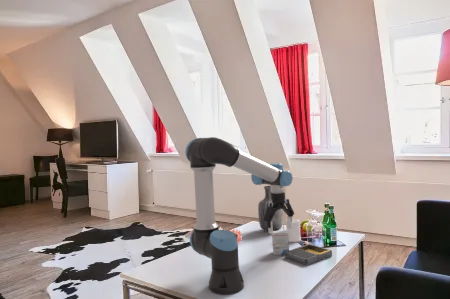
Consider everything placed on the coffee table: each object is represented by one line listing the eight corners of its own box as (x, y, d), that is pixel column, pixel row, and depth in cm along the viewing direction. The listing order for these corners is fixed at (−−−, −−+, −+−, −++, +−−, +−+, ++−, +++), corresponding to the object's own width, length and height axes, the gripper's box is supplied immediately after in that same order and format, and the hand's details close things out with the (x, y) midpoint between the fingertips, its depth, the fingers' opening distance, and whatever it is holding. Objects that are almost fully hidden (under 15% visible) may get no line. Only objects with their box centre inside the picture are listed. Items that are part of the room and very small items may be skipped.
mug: (279, 239, 211) (278, 219, 210) (289, 236, 216) (287, 217, 216) (294, 243, 201) (293, 223, 201) (304, 239, 207) (302, 220, 206)
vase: (268, 235, 219) (266, 189, 218) (254, 230, 233) (252, 186, 232) (288, 231, 227) (286, 186, 226) (273, 226, 241) (271, 183, 240)
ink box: (288, 251, 188) (287, 229, 188) (289, 254, 183) (288, 232, 183) (272, 251, 189) (271, 230, 189) (273, 254, 184) (272, 233, 184)
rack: (306, 265, 166) (306, 258, 166) (284, 257, 179) (284, 251, 179) (332, 256, 177) (331, 249, 177) (309, 249, 189) (309, 243, 189)
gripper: (264, 196, 175) (267, 237, 176) (299, 189, 189) (301, 227, 190) (255, 194, 181) (258, 234, 182) (289, 188, 195) (291, 224, 196)
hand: (280, 230), depth 186 cm, fingers open, 13 cm apart
